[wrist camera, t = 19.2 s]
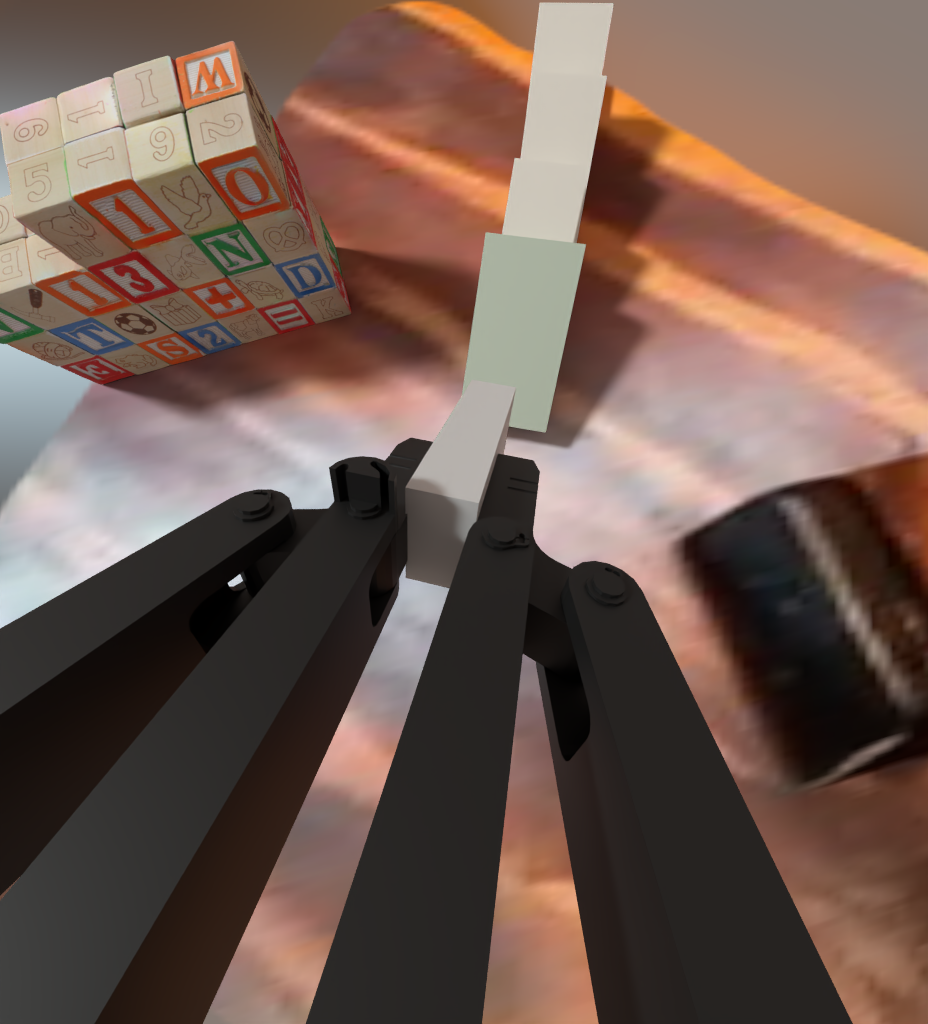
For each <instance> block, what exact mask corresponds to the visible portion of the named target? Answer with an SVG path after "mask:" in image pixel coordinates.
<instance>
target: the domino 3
mask: <svg viewBox="0 0 928 1024" xmlns="http://www.w3.org/2000/svg"><path fill="white" fill-rule="evenodd" d="M589 168H590V166H581V165H572V164H563V163H554V162H545V161H537V160H528V159H519V158H515V160H514V166H513V172H512V178H511V184H510V190H509V196H508V202H507V207H506V213H505V219H504V225H503V231H502V234H503V235H512V236H520V237H529V238H537V239H546V240H554V241H563V242H571V243H573V242H574V238H575V233H576V228H577V224H578V219H579V214H580V210H581V205H582V201H583V196H584V191H585V187H586V182H587V177H588V173H589Z"/></svg>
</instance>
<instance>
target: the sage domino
mask: <svg viewBox="0 0 928 1024" xmlns="http://www.w3.org/2000/svg"><path fill="white" fill-rule="evenodd" d="M585 247H586V244H580V243H571V242H563V241H554V240H546V239H537V238H529V237H520V236H512V235H503V234H495V233H486V235H485V242H484V249H483V255H482V262H481V269H480V276H479V283H478V289H477V296H476V303H475V310H474V317H473V323H472V330H471V337H470V344H469V350H468V357H467V364H466V371H465V378H464V384H463V391H462V395H463V393H464V392H465V390H466V389H467V387H468V385H469V384H470V382H471V380H477V381H483V382H489V383H494V384H500V385H506V386H512V387H516V391H515V396H514V401H513V407H512V412H511V417H510V422H509V427H515V428H521V429H527V430H533V431H539V432H545V433H546V429H547V424H548V420H549V415H550V410H551V406H552V401H553V396H554V392H555V387H556V382H557V378H558V373H559V368H560V364H561V359H562V354H563V350H564V345H565V340H566V336H567V331H568V326H569V322H570V317H571V312H572V308H573V303H574V298H575V294H576V289H577V285H578V280H579V275H580V271H581V266H582V261H583V257H584V252H585Z"/></svg>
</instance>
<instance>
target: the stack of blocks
mask: <svg viewBox="0 0 928 1024" xmlns="http://www.w3.org/2000/svg"><path fill="white" fill-rule="evenodd" d="M113 77H114V79H113V78H111V77H107V78H103V79H100V80H97V81H95V82H92V83H89V84H86V85H82V86H80V87H78V88H75V89H72V90H69V91H66V92H63V93H61V94H59V96H58V97H57V98H53V97H51V98H48V99H45V100H41V101H38V102H36V103H32V104H29V105H27V106H24V107H21V108H18V109H15V110H12V111H9V112H5V113H2V114H0V128H1V135H2V142H3V148H4V155H5V162H6V165H7V167H8V175H9V179H10V188H11V195H8V196H5V197H2V198H0V343H2V344H8V345H10V346H12V347H14V348H16V349H18V350H21V351H23V352H25V353H28V354H30V355H33V356H35V357H37V358H39V359H41V360H44V361H46V362H48V363H51V364H53V365H55V366H60V367H62V368H64V369H66V370H68V371H71V372H73V373H75V374H77V375H79V376H82V377H84V378H87V379H89V380H91V381H93V382H96V383H98V384H101V385H102V384H106V383H109V382H112V381H115V380H118V379H122V378H125V377H128V376H132V375H134V374H137V375H139V374H143V373H147V372H150V371H154V370H157V369H161V368H164V367H167V366H169V365H174V364H178V363H182V362H185V361H189V360H192V359H196V358H199V357H203V356H205V355H206V354H211V353H214V352H218V351H221V350H224V349H227V348H231V347H235V346H238V345H241V344H243V343H248V342H251V341H255V340H258V339H262V338H265V337H268V336H272V335H275V334H282V333H285V332H289V331H293V330H296V329H299V328H303V327H307V326H310V325H313V324H316V323H321V322H325V321H329V320H332V319H336V318H339V317H343V316H346V315H349V314H351V313H352V312H351V308H350V304H349V300H348V295H347V291H346V287H345V283H344V280H343V277H342V273H341V269H340V265H339V260H338V256H337V252H336V248H335V245H334V243H333V241H332V239H331V237H330V235H329V233H328V231H327V229H326V227H325V225H324V223H323V221H322V219H321V217H320V215H319V213H318V211H317V209H316V207H315V205H314V203H313V201H312V199H311V197H310V194H309V192H308V190H307V188H306V186H305V184H304V182H303V180H302V178H301V176H300V174H299V172H298V170H297V167H296V164H295V162H294V160H293V158H292V156H291V154H290V152H289V150H288V148H287V146H286V144H285V142H284V139H283V137H282V136H281V134H280V132H279V129H278V127H277V125H276V123H275V121H274V119H273V117H272V116H271V115H270V113H269V111H268V110H267V108H266V105H265V103H264V101H263V99H262V97H261V95H260V93H259V91H258V89H257V87H256V85H255V83H254V81H253V79H252V77H251V74H250V72H249V70H248V69H247V66H246V64H245V62H244V60H243V58H242V56H241V54H240V52H239V50H238V48H237V46H236V44H235V42H233V41H230V42H227V43H224V44H221V45H218V46H215V47H212V48H208V49H206V50H202V51H198V52H194V53H192V54H189V55H185V56H182V57H179V58H177V59H176V60H173V59H172V58H171V57H169V56H165V57H161V58H157V59H155V60H152V61H149V62H145V63H142V64H139V65H136V66H133V67H130V68H127V69H124V70H121V71H118V72H116V73H114V76H113Z"/></svg>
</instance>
